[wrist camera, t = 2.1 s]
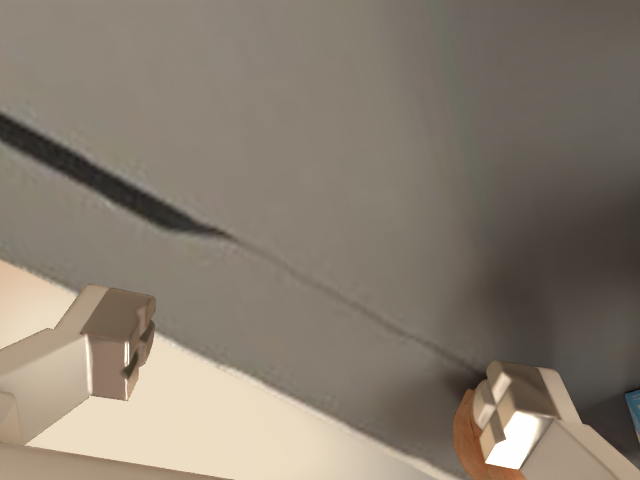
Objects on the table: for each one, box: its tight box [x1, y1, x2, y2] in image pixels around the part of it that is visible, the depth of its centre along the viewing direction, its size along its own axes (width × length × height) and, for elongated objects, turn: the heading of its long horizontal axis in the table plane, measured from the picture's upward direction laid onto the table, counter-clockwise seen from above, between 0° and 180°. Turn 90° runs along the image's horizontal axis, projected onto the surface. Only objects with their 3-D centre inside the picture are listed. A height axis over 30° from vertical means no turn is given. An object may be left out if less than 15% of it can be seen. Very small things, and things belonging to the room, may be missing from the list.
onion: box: [453, 379, 526, 480], centre depth 41 cm, size 10×9×10 cm
